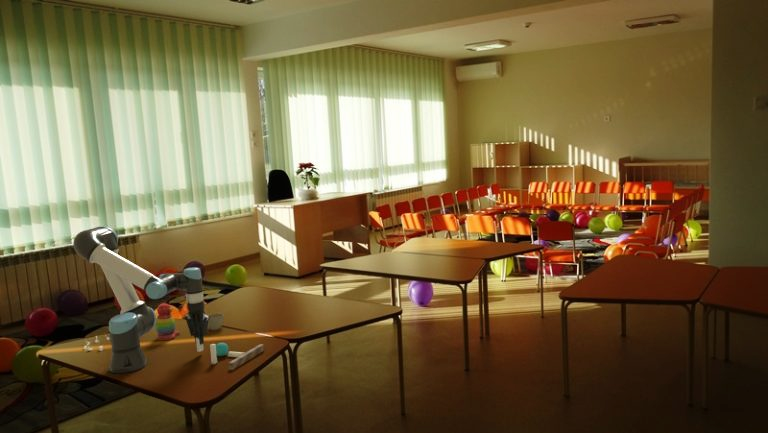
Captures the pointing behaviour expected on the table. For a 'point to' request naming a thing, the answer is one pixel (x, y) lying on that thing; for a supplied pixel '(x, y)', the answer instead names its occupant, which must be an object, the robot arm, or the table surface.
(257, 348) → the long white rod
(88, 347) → the game piece set
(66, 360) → the table surface
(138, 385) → the table surface
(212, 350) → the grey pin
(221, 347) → the ball
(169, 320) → the stacking bear
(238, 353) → the ivory pin
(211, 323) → the grey round cup
